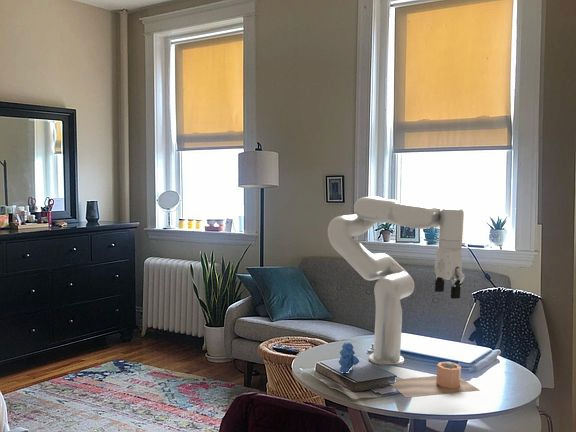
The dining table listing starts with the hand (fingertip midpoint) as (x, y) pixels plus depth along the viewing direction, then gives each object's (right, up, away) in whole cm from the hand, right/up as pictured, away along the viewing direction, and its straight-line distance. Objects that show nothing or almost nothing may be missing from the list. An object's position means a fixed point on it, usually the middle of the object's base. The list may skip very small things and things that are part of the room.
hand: (447, 294), depth 198 cm
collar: (-2, -28, -8) cm, 29 cm away
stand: (-8, -29, -10) cm, 32 cm away
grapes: (-33, -28, -1) cm, 43 cm away
